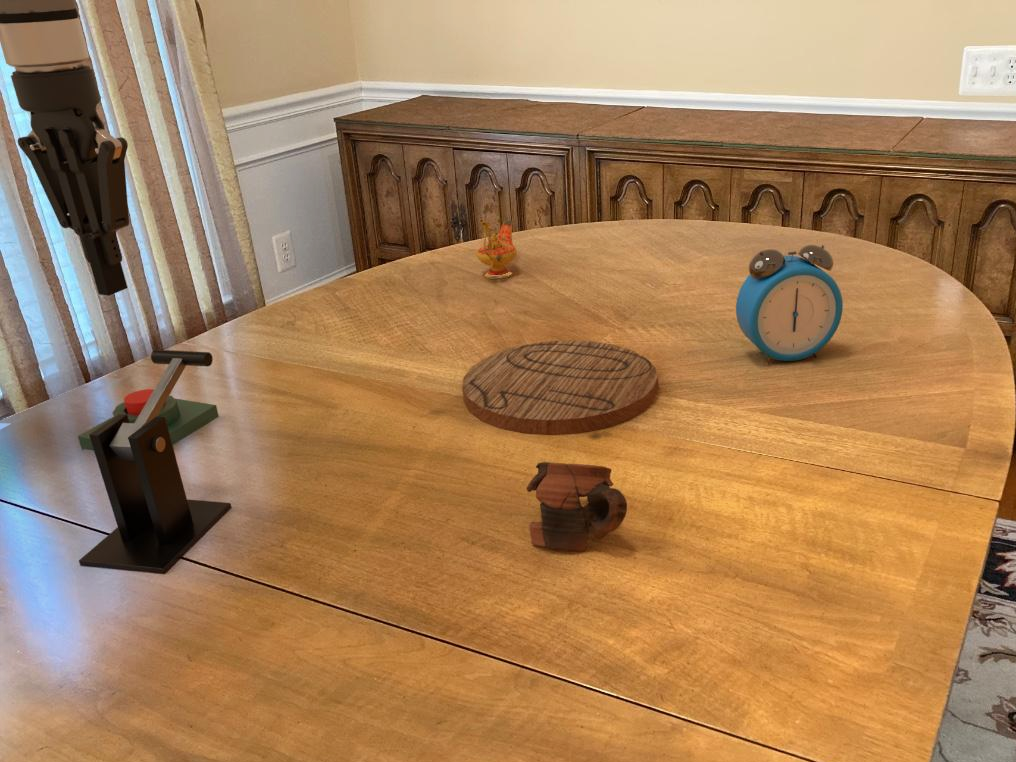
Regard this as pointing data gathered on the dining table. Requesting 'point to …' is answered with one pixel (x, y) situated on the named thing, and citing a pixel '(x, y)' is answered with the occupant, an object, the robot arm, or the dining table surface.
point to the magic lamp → (497, 249)
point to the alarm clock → (789, 303)
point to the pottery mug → (574, 505)
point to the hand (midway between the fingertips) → (113, 291)
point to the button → (137, 401)
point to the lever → (158, 394)
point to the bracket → (147, 502)
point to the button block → (168, 419)
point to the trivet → (560, 387)
